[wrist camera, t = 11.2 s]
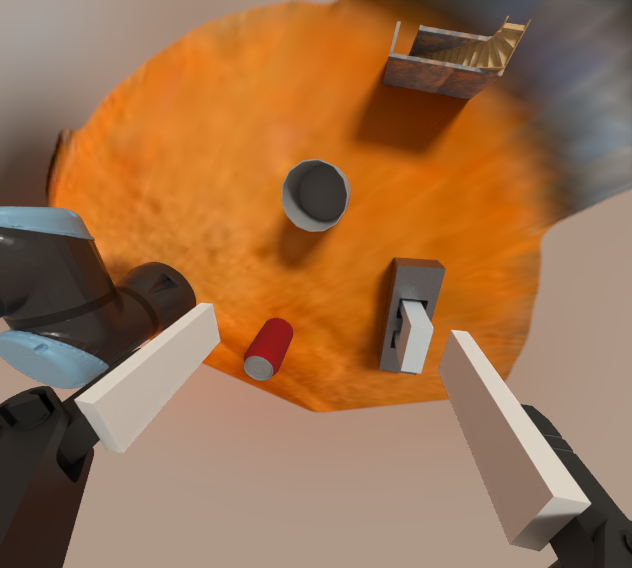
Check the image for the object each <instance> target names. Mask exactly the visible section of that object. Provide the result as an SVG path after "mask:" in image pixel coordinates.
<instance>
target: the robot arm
mask: <svg viewBox="0 0 632 568" xmlns="http://www.w3.org/2000/svg"><path fill="white" fill-rule="evenodd" d="M94 241H95V239H94V238H93V237H92V236H91V235H90V233H89V231H88V230H87V228H86V226H85V224H84V222H83V220H82V218H81V217H80V216H79V215H78V214H76V213H75V212H73V211H71V210H68V209H64V208H48V207H0V318H1V317H3V319H4V320H5V321H6V323H7V324H8V325H9V327H10V330H8V331H4V332H2V333H1V334H0V356H1V357H2V358H3V359H4V360H5V361H6V362H7V363H9V364H10V365H11V366H13V367H14V368H15V369H17V370H18V371H20V372H21V373H23V374H25V375H26V376H28V377H30V378H32V379H34V380H36V381H38V382H41V383H43V384H46V385H49V386H52V387H56V388H61V389H74V388H78V387H81V386H84V385H85V386H84V387H82V388H81V389H80V390H79V391H77V392H76V393H74V394H73V395H72V396H70V397H69V398H68V399H66V400H65V401H63V402H61V400H60V399H59V397H58V396H57V395H56V393H55V392H54V390H53V389H52V388H51V387H49V386H41V387H35V388H31V389H29V390H26V391H23V392H21V393H19V394H17V395H15V396H13V397H11V398H9V399H7V400H6V401H4V402H3V403H1V404H0V568H62V567H63V564H64V560H65V557H66V553H67V550H68V546H69V542H70V539H71V535H72V532H73V528H74V525H75V521H76V517H77V514H78V510H79V507H80V503H81V500H82V496H83V492H84V489H85V485H86V482H87V478H88V474H89V471H90V467H91V464H92V460H93V456H94V449H93V446H94V445H95V444H96V443H97V442H98V441H99V440H100V441H101V442H102V444H103V446H104V447H105V449H106V450H110V451H115V452H119V453H124V452H125V450H126V449H127V448H128V447H129V446H130V444H131V443H132V442H133V441H134V440H135V439H136V438H137V437H138V435H139V434H140V433H141V432H142V431H143V430H144V428H145V427H146V426H147V425H148V424H149V423H150V422H151V420H152V419H153V418H154V417H155V416H156V415H157V413H158V412H159V411H160V410H161V409H162V408H163V407H164V405H165V404H166V403H167V402H168V401H169V399H170V398H171V397H172V396H173V395H174V394H175V393H176V392H177V390H178V389H179V388H180V387H181V386H182V385H183V384H184V382H185V381H186V380H187V379H188V378H189V377H190V375H191V374H192V373H193V372H194V371H195V370H196V369H197V367H198V366H199V365H200V364H201V363H202V362H203V360H204V359H205V358H206V357H207V356H208V355H209V354H210V352H211V351H212V350H213V349H214V348H215V347H216V345H217V344H218V343H219V342H220V337H219V332H218V327H217V322H216V317H215V312H214V308H213V304H210V303H200V304H198V305H197V306H196V299H195V295H194V292H193V290H192V288H191V286H190V284H189V283H188V282H187V280H186V279H185V278H184V277H183V276H182V275H181V274H180V273H179V272H178V271H176V270H175V269H173V268H172V267H170V266H168V265H165V264H162V263H158V262H149V263H145V264H143V265H140V266H138V267H136V268H134V269H132V270H131V271H130V272H129V273H128V274H127V275H126V276H125V277H123V278H122V279H121V280H120V281H119V282H118V283H117V284H116V285H115V286H114V285H113V282H112V280H111V278H110V276H109V274H108V272H107V269H106V267H105V265H104V263H103V260H102V258H101V256H100V254H99V251H98V249H97V247H96V245H95V242H94ZM163 330H165V331H163ZM161 331H163V332H162V333H161V334H159V335H158V336H157V337H155V338H154V339H153V340H152V341H150V342H149V343H148V344H146V345H145V346H144V347H142V348H139V349H137V350H135V351H133V350H134V349H136V348H137V347H138V346H140V345H141V344H142V343H144V342H145V341H146V340H148V339H149V338H150V337H151V336H153V335H154V334H156V333H158V332H161ZM132 351H133V352H132ZM130 352H131V353H130ZM438 373H439V375H440V377H441V380H442V382H443V385H444V387H445V390H446V392H447V394H448V397H449V399H450V402H451V404H452V406H453V409H454V411H455V414H456V416H457V418H458V421H459V423H460V426H461V428H462V430H463V433H464V435H465V438H466V440H467V442H468V445H469V447H470V450H471V452H472V455H473V457H474V459H475V462H476V464H477V467H478V469H479V471H480V474H481V476H482V479H483V481H484V484H485V486H486V488H487V491H488V493H489V496H490V498H491V500H492V503H493V505H494V508H495V510H496V513H497V515H498V517H499V520H500V522H501V525H502V527H503V529H504V532H505V534H506V537H507V539H508V541H509V544H511V545H515V546H519V547H523V548H528V549H532V550H537V551H540V550H542V549H543V548H544V547H545V546H546V545H547V544H548V543H549V542H550V544H551V546H552V548H553V550H554V552H555V553H556V555H557V557H558V560H557V561H556V562H554V563H553V564H552V565H551V566H549V567H548V568H632V521H630V520H629V519H628V518H627V517H626V516H625V515H624V514H623V513H622V511H621V510H620V509H619V508H618V507H617V505H616V504H615V503H614V501H613V500H612V499H611V498H610V496H609V495H608V494H607V493H606V491H605V490H604V489H603V488H602V486H601V485H600V484H599V483H598V481H597V480H596V479H595V478H594V476H593V475H592V474H591V473H590V471H589V470H588V469H587V467H586V466H585V465H584V464H583V462H582V461H581V460H580V459H579V457H578V456H577V455H576V454H574V453H573V450H572V449H571V447H570V446H569V445H568V443H567V442H566V441H565V440H563V439H562V436H561V435H560V433H559V432H558V431H557V430H556V428H555V427H554V426H553V425H552V423H551V422H550V421H549V420H548V419H547V418H546V417H545V416H543V415H542V414H541V413H540V412H539V411H537V410H536V409H535V408H534V407H533V406H529V405H522V404H519V402H518V401H517V400H516V398H515V397H514V395H513V394H512V393H511V391H510V390H509V389H508V387H507V386H506V384H505V383H504V382H503V380H502V379H501V377H500V376H499V375H498V373H497V372H496V370H495V369H494V368H493V366H492V365H491V364H490V362H489V361H488V359H487V358H486V357H485V355H484V354H483V352H482V351H481V350H480V348H479V347H478V345H477V344H476V343H475V341H474V340H473V339H472V337H471V336H470V334H469V333H468V332H466V331H457V330H451V331H450V334H449V337H448V341H447V344H446V347H445V350H444V353H443V356H442V359H441V362H440V365H439V368H438ZM87 383H88V384H87Z"/></svg>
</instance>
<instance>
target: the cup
mask: <svg viewBox="0 0 632 568" xmlns="http://www.w3.org/2000/svg"><path fill="white" fill-rule="evenodd" d="M350 194H351V189H350V185H349V181H348V178H347V177H346V176H345V175H344V173H343V172H342V171H341V170H340V169H339V168H337V167H336V166H334V165H332V164H330V163H327V162H325V161H322V160H320V159H312V160H304V161H301V162H300V163H298V164H297V165H296V166H294V167H293V168H292V169H290V170H289V172H288V174H287V176H286V178H285V180H284V182H283V184H282V193H281V202H282V205H283V208H284V210H285V213H286V216H287V217H288V218H289V219H290V220H291V221H292V222H293V223H294V224H295V225H296V226H297V227H299V228H302V229H304V230H307V231H309V232H315V231H325V230H326V229H328V228H330V227H332V226H333V225H335V224H337V222H338V221H339V219H340V218H341V216H342V215H343V214H344V212H345V211H346V208H347V206H348V204H349V200H350Z"/></svg>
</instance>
